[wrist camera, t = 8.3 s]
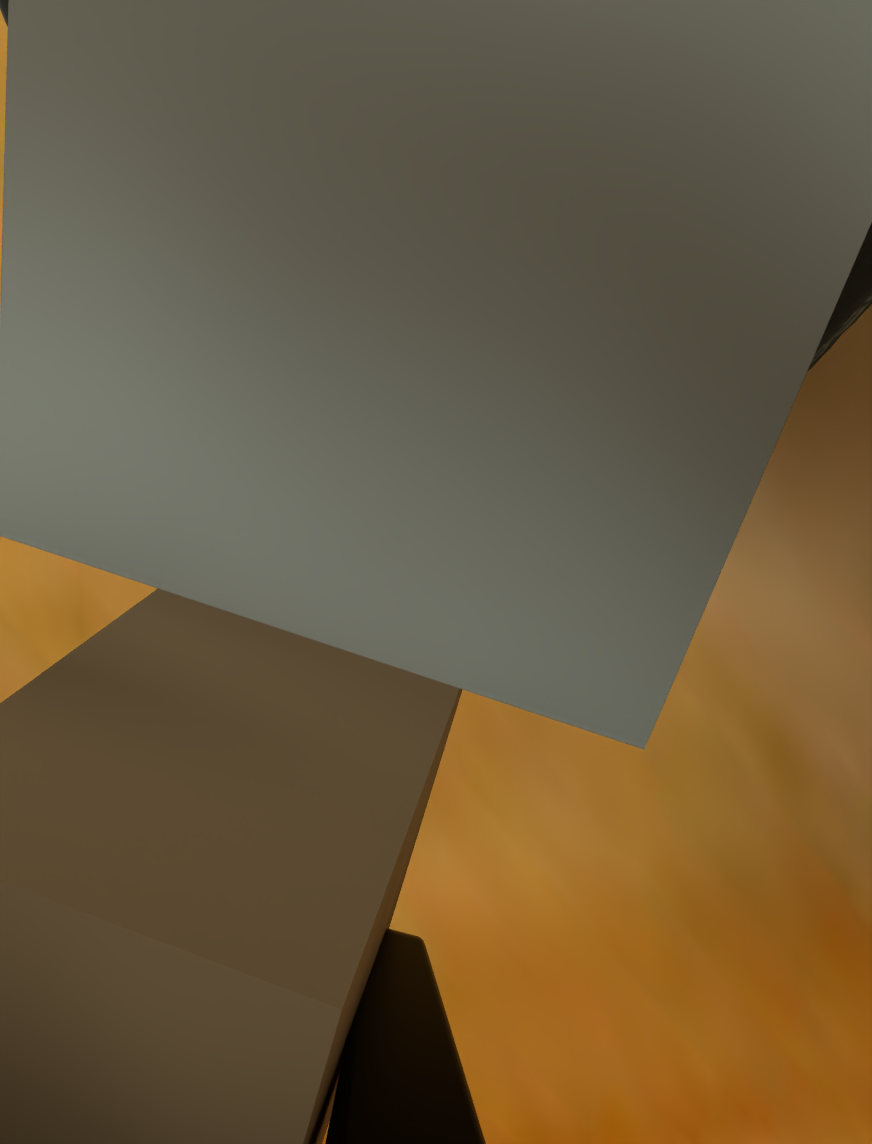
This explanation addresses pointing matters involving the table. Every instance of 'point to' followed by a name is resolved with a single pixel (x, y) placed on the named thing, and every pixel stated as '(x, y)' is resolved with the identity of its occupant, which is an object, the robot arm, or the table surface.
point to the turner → (362, 468)
